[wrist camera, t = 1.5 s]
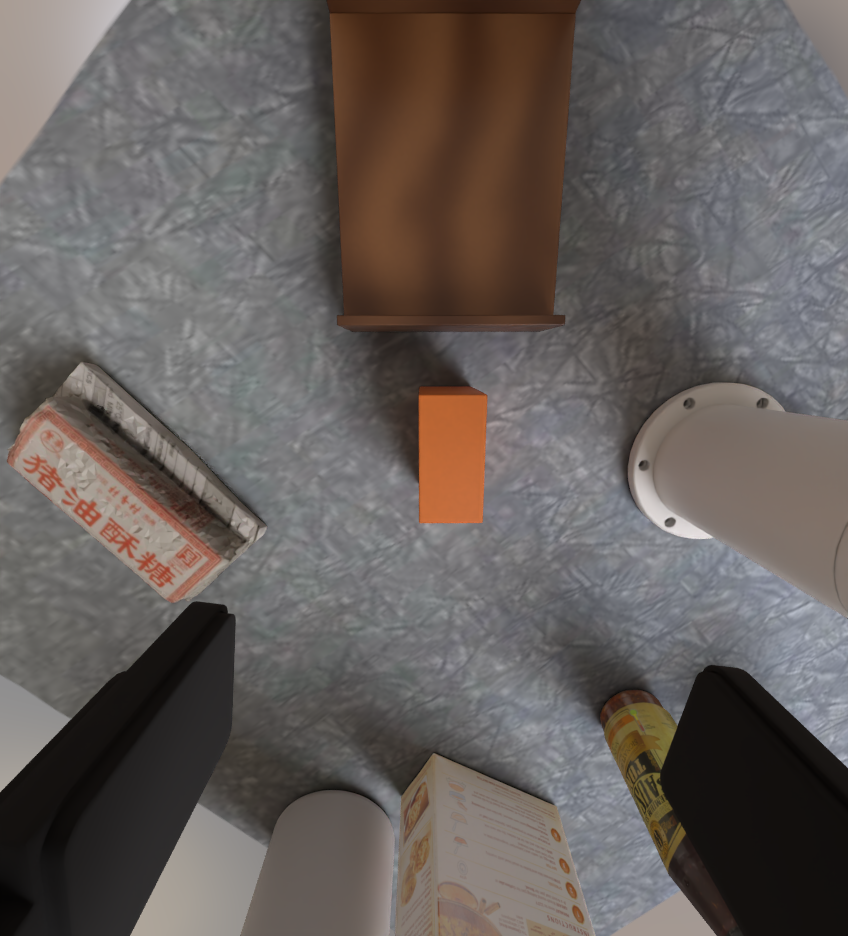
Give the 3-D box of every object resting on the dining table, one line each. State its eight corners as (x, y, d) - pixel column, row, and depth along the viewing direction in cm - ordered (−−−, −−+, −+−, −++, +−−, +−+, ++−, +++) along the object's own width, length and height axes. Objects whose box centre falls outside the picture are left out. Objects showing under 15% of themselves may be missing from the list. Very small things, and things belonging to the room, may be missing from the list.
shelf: (565, -50, 25) (674, -360, 14) (540, 331, 30) (603, 315, 20) (335, -50, 25) (269, -361, 14) (352, 331, 30) (313, 315, 20)
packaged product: (249, 551, 29) (161, 630, 31) (273, 525, 34) (195, 595, 36) (39, 359, 26) (-48, 460, 28) (97, 359, 31) (20, 445, 32)
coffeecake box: (398, 797, 42) (379, 1156, 23) (433, 749, 40) (442, 1091, 21) (521, 848, 44) (596, 1218, 25) (559, 804, 42) (669, 1164, 23)
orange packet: (471, 386, 31) (487, 394, 24) (468, 485, 33) (482, 523, 26) (419, 386, 31) (418, 394, 24) (419, 485, 33) (419, 523, 26)
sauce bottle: (601, 683, 38) (781, 1008, 19) (667, 686, 38) (911, 1011, 19) (590, 739, 40) (746, 1088, 21) (653, 741, 40) (866, 1091, 21)
